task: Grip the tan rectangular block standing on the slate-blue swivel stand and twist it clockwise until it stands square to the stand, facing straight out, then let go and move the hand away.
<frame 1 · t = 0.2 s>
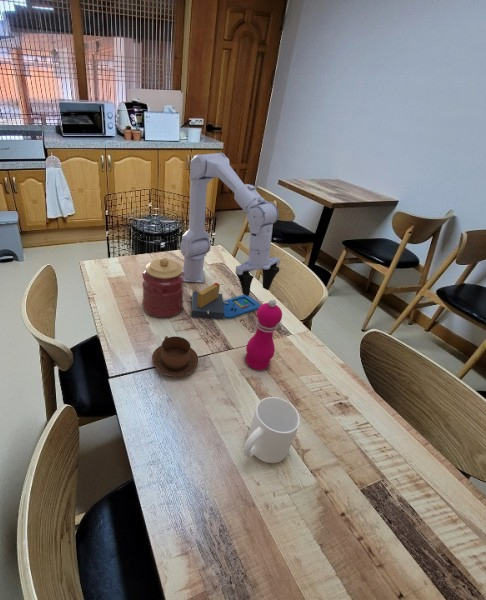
hand: (255, 291, 101), 11 cm above the table, tool pointing down, fingers open, 7 cm apart
pepper mill: (256, 362, 91), on the table
cup and saucer: (174, 363, 89), on the table
kitchen canister: (162, 307, 110), on the table
handheld gaming device: (236, 307, 112), on the table, touching frame stand
frame stand: (206, 308, 111), on the table
tan rectangular block: (208, 294, 108), point 5 cm above the table, hinge at 50.0°
mug: (260, 450, 70), on the table
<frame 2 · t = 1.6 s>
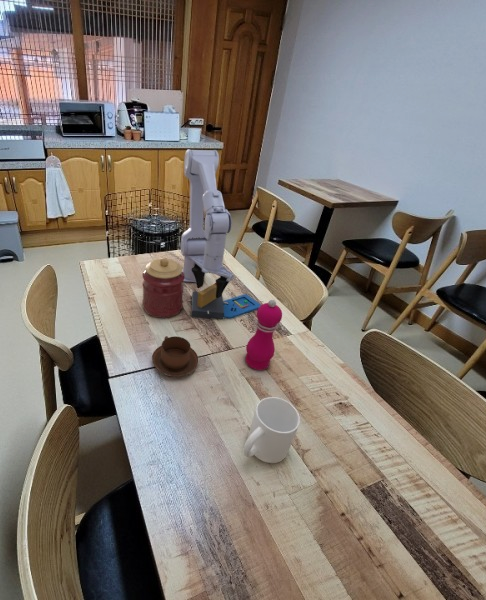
hand: (209, 291, 107), 6 cm above the table, tool pointing down, fingers open, 7 cm apart
nothing on the table moved.
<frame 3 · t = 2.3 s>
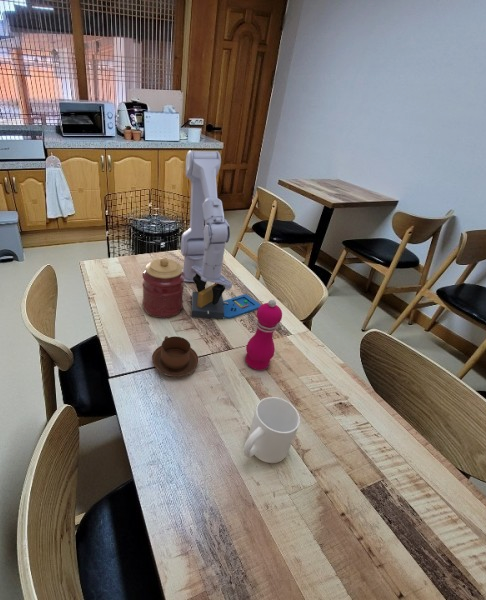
hand: (208, 299, 109), 3 cm above the table, tool pointing down, fingers open, 5 cm apart
nothing on the table moved.
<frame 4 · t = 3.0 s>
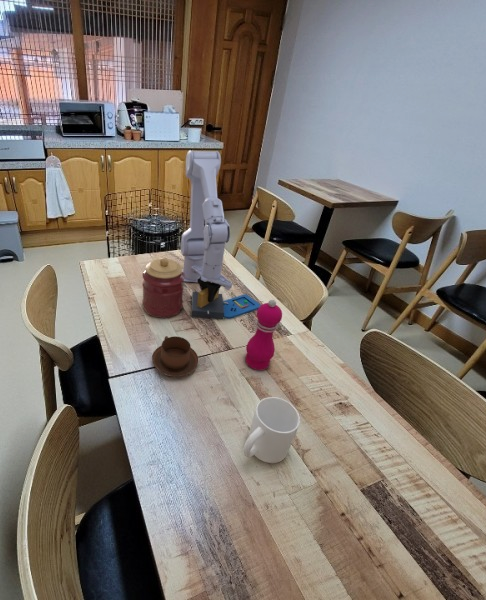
hand: (208, 299, 109), 3 cm above the table, tool pointing down, fingers closed on tan rectangular block, 2 cm apart
tan rectangular block: (208, 294, 108), point 5 cm above the table, hinge at 50.0°, touching gripper
everything else where it was.
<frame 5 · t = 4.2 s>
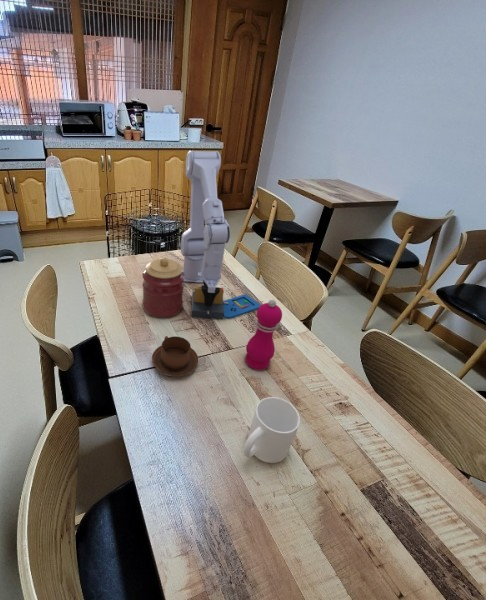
hand: (208, 299, 109), 3 cm above the table, tool pointing down, fingers open, 6 cm apart
tan rectangular block: (208, 294, 108), point 5 cm above the table, hinge at 0.0°
everything else where it was.
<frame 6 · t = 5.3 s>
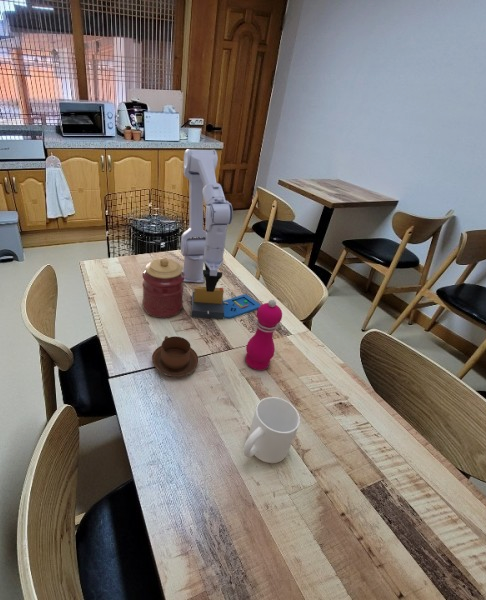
hand: (209, 284, 106), 9 cm above the table, tool pointing down, fingers open, 7 cm apart
nothing on the table moved.
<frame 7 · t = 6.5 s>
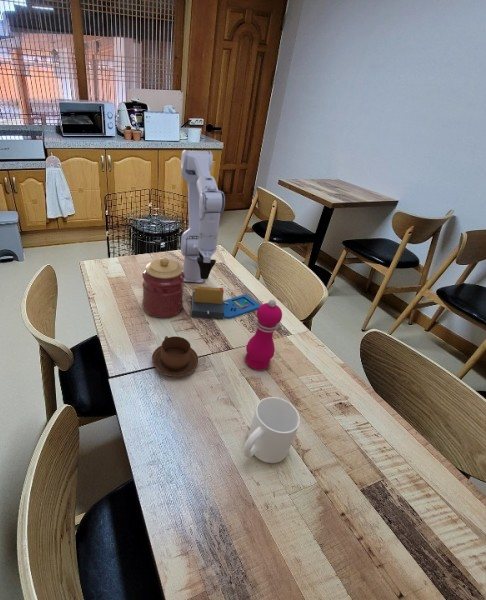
hand: (203, 272, 109), 10 cm above the table, tool pointing down, fingers open, 7 cm apart
nothing on the table moved.
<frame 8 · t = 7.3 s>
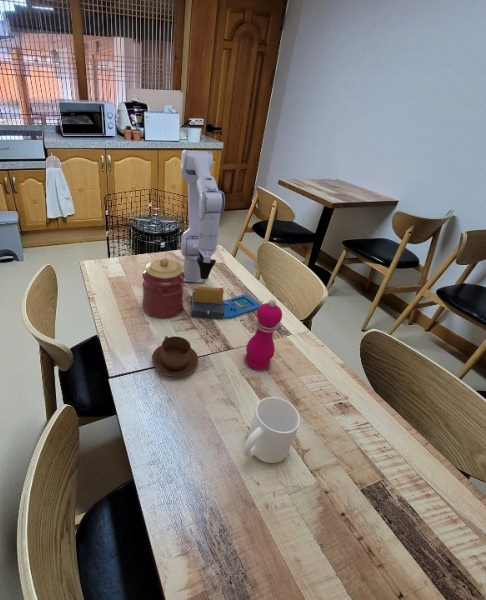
hand: (203, 272, 109), 10 cm above the table, tool pointing down, fingers open, 7 cm apart
handheld gaming device: (235, 308, 112), on the table
everything else where it was.
at the end: tan rectangular block at +0° (first picture: +50°); kitchen canister moved 0.2 cm from its start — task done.
